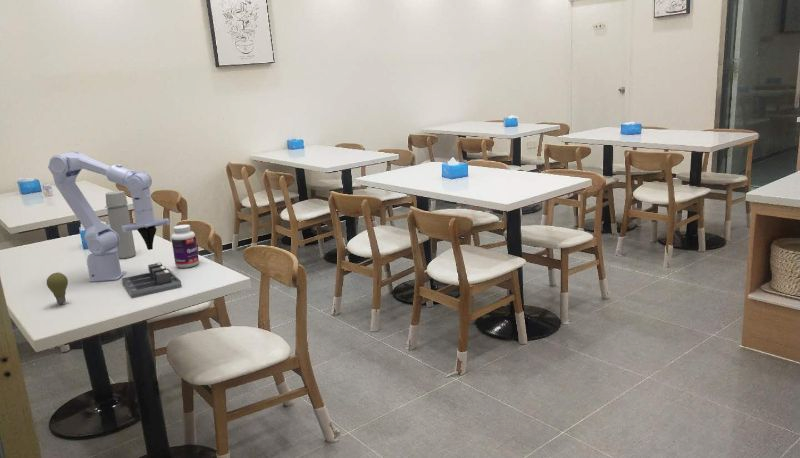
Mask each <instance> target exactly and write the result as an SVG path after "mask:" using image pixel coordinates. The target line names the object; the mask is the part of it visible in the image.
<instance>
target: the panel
mask: <svg viewBox="0 0 800 458" xmlns="http://www.w3.org/2000/svg"><path fill="white" fill-rule="evenodd" d="M166 269H167V270H168V271H169V272H170V275H171V281H172V282H171V283H167V284H162V285H157V281H154V280H153V277H150V274H149V272H146V273H140V274H137V275H131V276H127V277H126V276H125V277H120V278H121V284H122V286H123V287H124V288H125V290H126V291H127V293H128V295H129V296H130V297H131V299H134V298H138V297H139V298H140V297H142V296H148V295H152V294H157V293H161V292H165V291H169V290H174V289H179V288H182V281H181V280H180V279H179V277H178V276H176V274H175V273H173V272H172V270H170V268H166Z"/></svg>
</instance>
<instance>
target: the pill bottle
mask: <svg viewBox="0 0 800 458" xmlns="http://www.w3.org/2000/svg"><path fill="white" fill-rule="evenodd" d="M173 232H174V233H172V235H171V244H172V245H171V247H172V253H173V258H174V264H175V267H177V268H179V269H187V268H193V267H195V266H198V264H199V262H200V259H199V251H198V245H197V238H196V237H197V236H196V233H195V232H194V231H192V230H191V225H190V224H179V225H176V226H174V227H173Z"/></svg>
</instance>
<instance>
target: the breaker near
mask: <svg viewBox="0 0 800 458" xmlns="http://www.w3.org/2000/svg"><path fill="white" fill-rule="evenodd" d="M155 275H156V281H157V285H162V284H167V283H171V282H172V281H171V275H170V272H169V271H168V270H164V271H162V272H157V273H155Z"/></svg>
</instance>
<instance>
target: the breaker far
mask: <svg viewBox="0 0 800 458" xmlns="http://www.w3.org/2000/svg"><path fill="white" fill-rule="evenodd" d="M160 266H164V264H163V263H162V262H160V261H158V262H155V263H153V264H152V263H151V264H148V265H147V267H148V273H149V274H150V277H153V274H152V269H154V268H158V267H160Z"/></svg>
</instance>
